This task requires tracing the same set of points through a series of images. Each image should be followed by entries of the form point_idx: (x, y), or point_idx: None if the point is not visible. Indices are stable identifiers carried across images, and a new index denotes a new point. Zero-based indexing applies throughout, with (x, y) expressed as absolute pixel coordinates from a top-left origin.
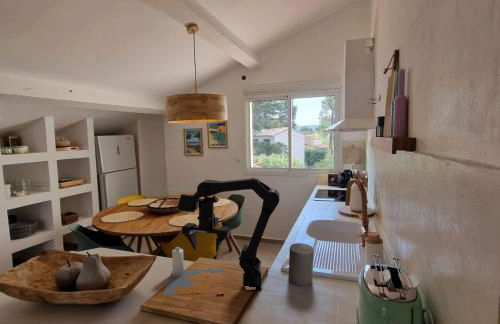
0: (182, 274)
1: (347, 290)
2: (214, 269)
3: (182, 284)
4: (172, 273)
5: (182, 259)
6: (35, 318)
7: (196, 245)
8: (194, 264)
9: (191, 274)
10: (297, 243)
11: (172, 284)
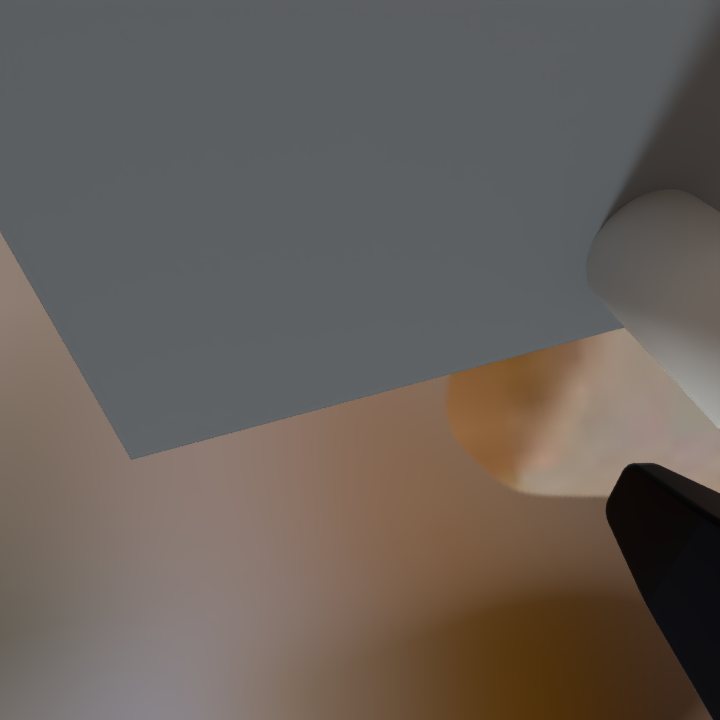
0: (598, 241)
1: None
2: (241, 422)
3: (568, 6)
4: None
5: (717, 360)
6: None
7: (653, 612)
8: (492, 467)
9: (489, 271)
10: None
11: None
